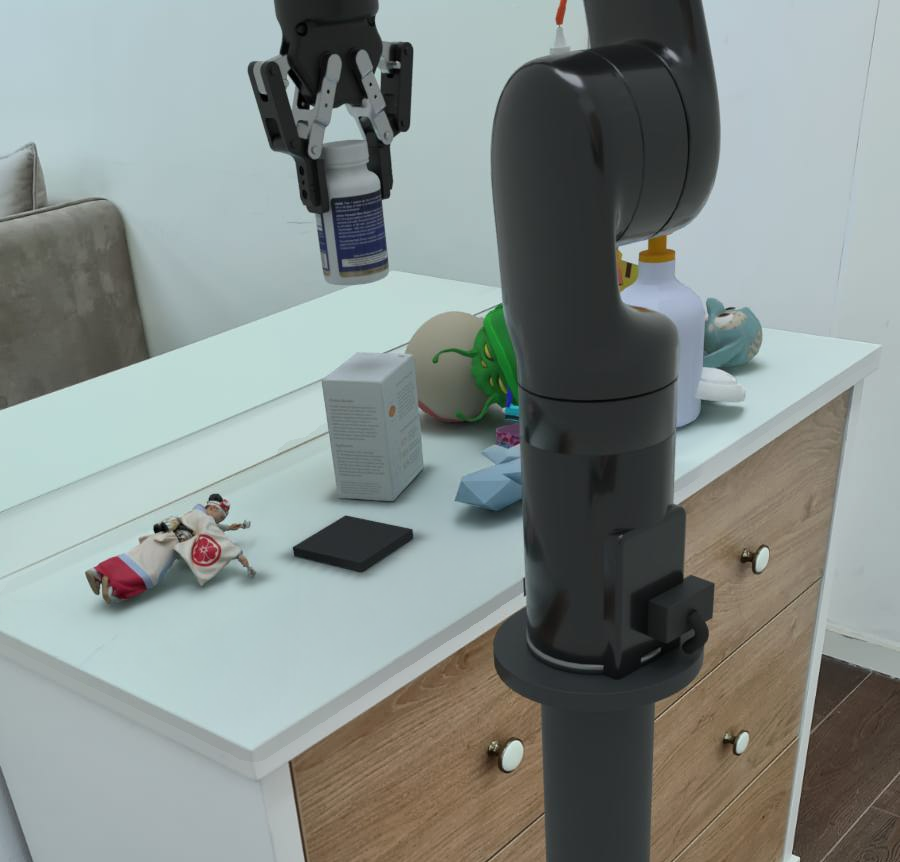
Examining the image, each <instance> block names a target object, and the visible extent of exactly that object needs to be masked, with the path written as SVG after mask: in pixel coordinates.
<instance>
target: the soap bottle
mask: <svg viewBox="0 0 900 862" xmlns="http://www.w3.org/2000/svg"><path fill="white" fill-rule="evenodd" d="M672 234H674V232H672V233H669V234H666V235H662V236H659V237H655V238H651V239H647V249H645V250H641V251H639V252H638V260H637V261H638V263H637V265H638V278H637V280H636V281H635V282H634V283H633V284H632V285H630V286H629V287H627V288H625V289H624V290H623V291H622V292H621V293H620V296H621V299H622V301H623V302H624V303H625V304H629V305H634V306H639V307H643V308H647V309H651V310H654V311H658V312H660V313H662V314H664V315H666V316H668V317H669V318H670V319H672V321H673V322H674V323H675V324H676V326H677V329H678V331H679V338H680V359H679V379H678V404H677V425H676V429H677V428H680V427H681V428H682V427H684V426H686V425H688V424H690V423H692V422H694V421H695V420H696V419H697V418H698V416H699V415H700V413H701V404H702V399H696V398H695V396H696V392H697V389H698V384H699V381H700V379H701V375H702V368H703V349H704V329H705V318H706V310H705V309H706V308H705V307H704V306H705V305H704V303H703V300H702V297H701V296H700V295H699V294H698V293H697V292H696V291H695V290H693V289H692V288H691V287H689V286H688V285H686V284H685V283H682V282H681V281H680V280H679V279H678V278H677V277H676V250H674V249H671V248H667V244H668V243H667V241H668V236H669V235H672Z"/></svg>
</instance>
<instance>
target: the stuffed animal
mask: <svg viewBox="0 0 900 862" xmlns="http://www.w3.org/2000/svg"><path fill="white" fill-rule="evenodd" d="M705 306H706V313H707V317H705V329H704V349H703V367H709V368H716V369H717V368H719V367H722V368H729V367H730V368H731V367H732V368H733V367H738V366H741V365H744V364H748V363H750V362H751V361H752V360H753V359H754V358H755V357H756V356H758V354H759V352H760V349H761V347H762V344H763V327H762V325H761V322H760V320H759V318H758V317H757V316H756V314H755V313H754V312H753V311H752V310H751V308H750V307H747V306H744V307H742V308H738V307H736V306H735V307H734V306H730V307H725V306H724V303H723V302H721V301H720V300H719V299H717V298H716V297H707V298H706V302H705Z"/></svg>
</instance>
